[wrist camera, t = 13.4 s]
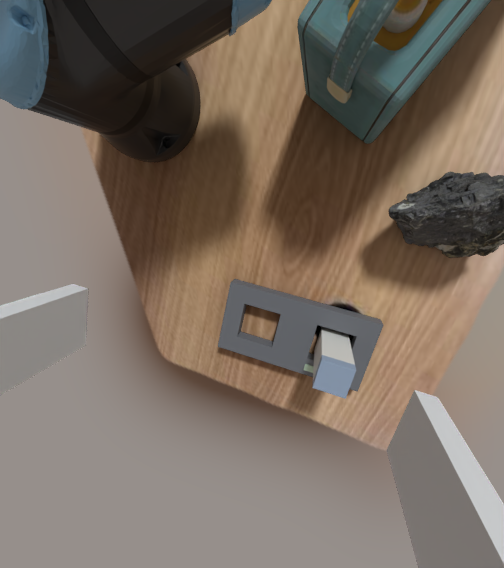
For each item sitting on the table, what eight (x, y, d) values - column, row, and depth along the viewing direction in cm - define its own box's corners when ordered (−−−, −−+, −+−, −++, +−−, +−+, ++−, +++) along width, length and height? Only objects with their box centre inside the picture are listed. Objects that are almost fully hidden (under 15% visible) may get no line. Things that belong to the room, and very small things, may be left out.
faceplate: (221, 341, 48) (217, 347, 45) (234, 278, 44) (230, 282, 42) (355, 383, 44) (357, 392, 42) (380, 319, 41) (383, 325, 39)
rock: (517, 146, 30) (543, 177, 24) (523, 226, 34) (546, 273, 27) (393, 185, 38) (384, 218, 31) (409, 247, 42) (405, 289, 35)
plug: (314, 349, 44) (312, 387, 35) (321, 326, 43) (321, 359, 34) (340, 357, 44) (345, 398, 34) (348, 334, 42) (356, 370, 33)
